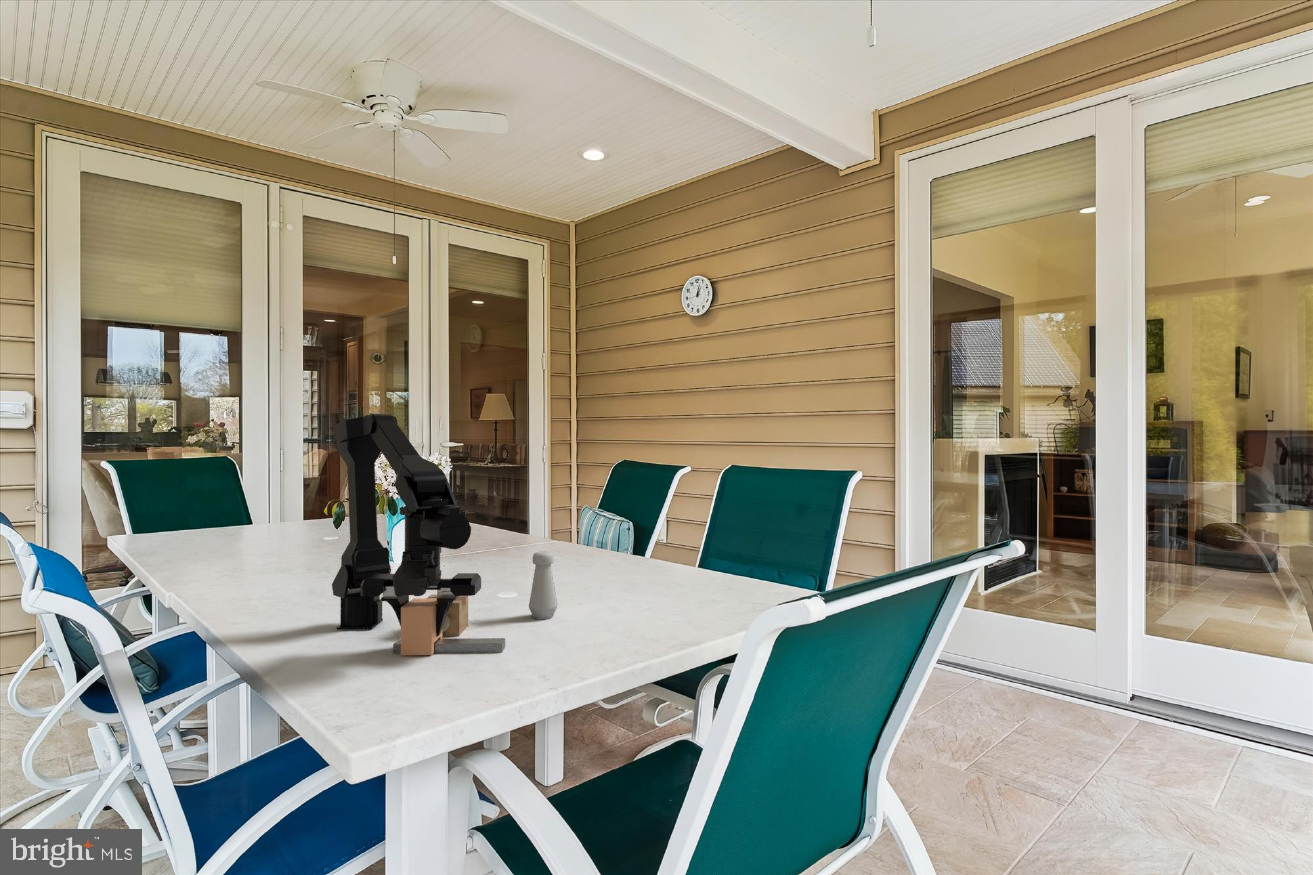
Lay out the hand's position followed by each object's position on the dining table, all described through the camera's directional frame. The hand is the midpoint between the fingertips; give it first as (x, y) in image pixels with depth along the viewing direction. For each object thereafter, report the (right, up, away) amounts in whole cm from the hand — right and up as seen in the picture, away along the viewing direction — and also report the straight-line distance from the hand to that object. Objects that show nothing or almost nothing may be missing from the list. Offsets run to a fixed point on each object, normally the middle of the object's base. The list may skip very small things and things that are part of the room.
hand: (422, 635), depth 117 cm
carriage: (0, -3, 0) cm, 2 cm away
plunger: (0, +4, +12) cm, 12 cm away
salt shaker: (+17, -3, +23) cm, 28 cm away
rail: (+5, -3, 0) cm, 5 cm away
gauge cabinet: (0, -3, +12) cm, 12 cm away
